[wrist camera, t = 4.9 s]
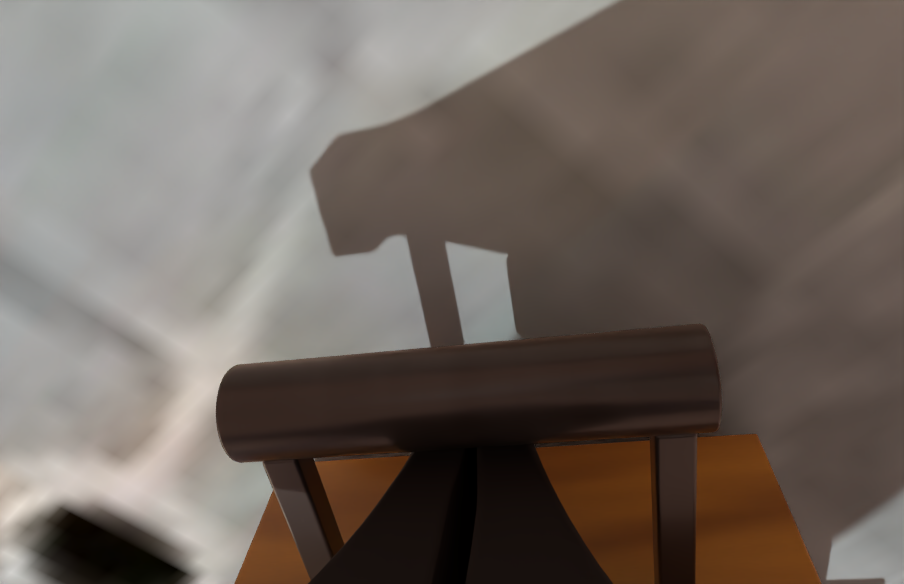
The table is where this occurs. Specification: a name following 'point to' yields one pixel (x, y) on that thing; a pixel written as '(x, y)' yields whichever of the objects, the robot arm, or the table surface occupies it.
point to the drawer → (516, 423)
